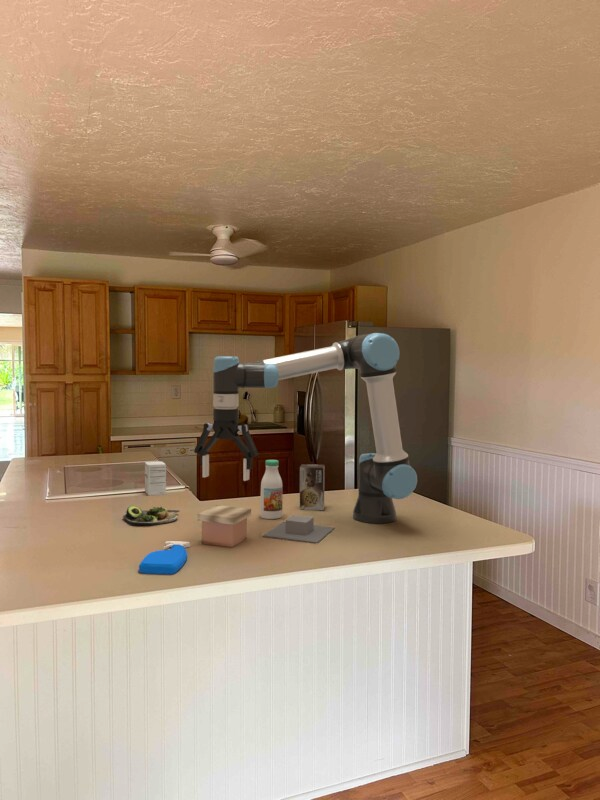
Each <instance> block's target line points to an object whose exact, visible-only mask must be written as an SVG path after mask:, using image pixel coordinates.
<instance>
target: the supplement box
mask: <svg viewBox="0 0 600 800" xmlns="http://www.w3.org/2000/svg"><path fill="white" fill-rule="evenodd" d="M144 493H146V495H148V496H161V495H166V494H167V464H166V463H165V462H164V461H162V460H161V461H160V460H159V461H158V460H156V461H145V462H144Z"/></svg>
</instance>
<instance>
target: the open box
mask: <svg viewBox="0 0 600 800" xmlns="http://www.w3.org/2000/svg"><path fill="white" fill-rule="evenodd" d="M247 526H248V517H247V518H245V519H244V520H242V521H240V522H238V523H236V524H234V525H232V524H224V523H215V522H206V521H201V544H205V545H213V546H222V547H228V548H233V547H236V545H238V544H239V543H241V542H243V541H244V540H246V539H247V536H248V535H247V532H248V527H247Z"/></svg>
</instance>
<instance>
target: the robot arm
mask: <svg viewBox="0 0 600 800" xmlns="http://www.w3.org/2000/svg"><path fill="white" fill-rule="evenodd" d="M399 359H400V348H399V345H398V342H397V341H396V340H395V339H394V338H393V337H392V336H390V335H389V334H387V333H383V332H382V333H381V332H373V333H366V334H359V335H355V336H353V337H350V338H348V339H344V340H341V341H335V342H333V343H332V345H331V346H326V347H321V348H316V349H312V350H305V351H301V352H296V353H291V354H287V355H286V354H285V355H282V356H281V355H280V356H277V357H272V358H265V359H262V360H257V361H256V360H255V361H251V362H244V363H243V362H240V360H239V357H238V356H227V355H226V356H222V355H221V356H220V355H219V356H215V358H214V359H213V370H212V377H213V378H212V379H213V382H212V385H213V386H212V387H213V388H212V389H213V403H212V404H213V405H212V406H213V408H214V409H213V410H212V411H213V412H212V415H213V416H212V418H213V424H212V423H211V422H205V423H204V424H203V428H202V429H203V430H202V433H201V435H200V436H199V439H198V441H197V443H196V446H195V448H194V450H193V452H194V454H198V455H199V464H200V466H201V467H202V478H208V477H209V476H210V454H208V452H209V451H210V450H211V449H212V447H213V446H214V445H215V444H216V442H218V440H224V439H225V440H232V442H234V444H236V446H237V448H238V449H239V450H240V452H241V453H242V455H243V456H244V458H243V460H242V461H243V464H242V465H243V467H242V469H243V470H242V471H243V472H242V473H243V476H242V477H243V479H242V480H243V481H244V482H246V481H249V480H250V470H252V468H253V458H255V457H257V456H258V455H259V452H258V450H257V447H256V444H255V443H254V440H253V438H252V436H251V433H250V430H249V425H248V424H243V425H239V414H240V413H239V409H238V407H239V406H240V405H239V403H240V402H239V399H240V398H239V389H271V388H272V389H273V388H275V387H277V385H278V383H279V381H283V380H286V379H291V378H292V379H293V378H296V377H300V376H306V375H309V374H316V373H320V372H324V371H330V370H334V369H337V371H342V370H351V369H353V370H356V369H357V370H359V375H360V379H362V380H363V381H364V382H365V384H366V390H367V397H368V398H367V399H368V403H369V410H370V417H371V423H372V431H373V438H374V443H375V451H376V453H374V452H371V453H362V454H360V456H359V462H358V495H357V499H356V502H355V504H354V508H353V510H352V518H353V519H354V520H357V521H359V522H361V523H362V522H364V523H370V524H388V523H391V522H392V523H393V522H395V521H396V520H397V511H396V508H395V503H394V501H393V499H395V500H401V499H402V500H403V499H405V498H408V497H409V496H410V495H411V494H413V492H414V490H415V489H416V487H417V484H418V474H417V472H416V470H415V469H414V468H413V467H412V466H411V465H410V459H409V454H408V453H407V452H406V451H405V450H404V448H403V442H402V437H401V429H400V422H399V414H398V407H397V399H396V395H395V387H394V381H393V379H394V376H395V375H396V374H397V367H396V365H397V363H398V361H399ZM212 430H213V432H214V433H213V434H212V435H211V437H210V439H209V440H208V437H209V435H210V432H211V431H212ZM238 432H241V435H242V437H243V440H244V441H245V442H244V441H243V440H242V438H241V436H240V434H239V433H238ZM207 440H208V442H207ZM206 442H207V443H206Z"/></svg>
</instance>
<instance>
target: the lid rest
mask: <svg viewBox="0 0 600 800" xmlns="http://www.w3.org/2000/svg"><path fill="white" fill-rule="evenodd" d="M314 519H315V517H314V516H306V515H305V516H304V515H295V514H294V515H291V516H290V517H288V518H287V519H285V521H282V522H281V523H279V524H278V525H276V526H274V527H273V528H272V529H270V530H269V531H266V533H264V534H262V536H261V537H262V538H268V539H276V540H283V539H284V540H285V541H293V542H301V543H307V542H309V544H315V543H318V544H319V543H320V542H321V541H323V538H324V539H325V538H326V537H327V536H328V535H329V534H330V533H332V532H333V531H334V530H335V529H336V527H335V526H327V525H326V526H325V525H318V524H317V525H316V524H314V523H315V520H314ZM332 530H333V531H332ZM331 531H332V532H331Z"/></svg>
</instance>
